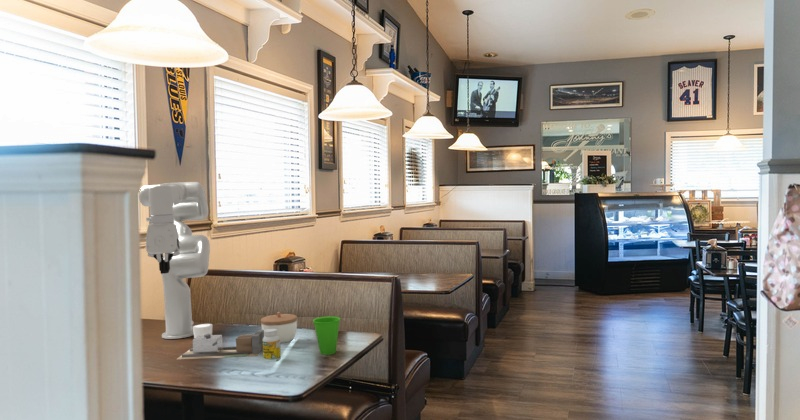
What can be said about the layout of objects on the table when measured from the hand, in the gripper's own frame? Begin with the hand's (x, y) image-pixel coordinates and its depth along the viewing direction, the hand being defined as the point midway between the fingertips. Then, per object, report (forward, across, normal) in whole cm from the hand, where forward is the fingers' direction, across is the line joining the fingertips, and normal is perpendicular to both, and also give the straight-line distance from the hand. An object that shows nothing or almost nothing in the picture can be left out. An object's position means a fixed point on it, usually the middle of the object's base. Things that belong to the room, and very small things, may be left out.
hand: (164, 272), depth 193 cm
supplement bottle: (+27, +40, -17) cm, 51 cm away
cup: (+27, +57, -11) cm, 64 cm away
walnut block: (+26, +30, -10) cm, 41 cm away
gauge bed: (+27, +22, -10) cm, 36 cm away
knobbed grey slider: (+26, +17, -11) cm, 33 cm away
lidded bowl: (+27, +38, +4) cm, 47 cm away
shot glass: (+27, +10, +6) cm, 30 cm away
